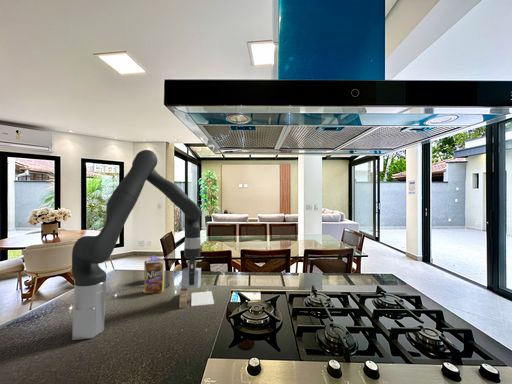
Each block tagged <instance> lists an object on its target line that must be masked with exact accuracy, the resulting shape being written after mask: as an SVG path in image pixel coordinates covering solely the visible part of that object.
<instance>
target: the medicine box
mask: <svg viewBox="0 0 512 384" xmlns="http://www.w3.org/2000/svg"><path fill="white" fill-rule="evenodd" d="M193 273H194V272H190V274H193ZM181 284H182V288H188V289H195V290H196V289H197V290H198V289H199V288H200V287H201V286H202V285H201V284H202V267H196V271H195V276H194V285H189V272H188V267H184V268H183V269H182V270H181Z"/></svg>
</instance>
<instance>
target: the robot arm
mask: <svg viewBox="0 0 512 384" xmlns="http://www.w3.org/2000/svg"><path fill="white" fill-rule="evenodd" d="M157 164H158V157H157V154H156V153H155V152H154V151H152V150H150V149H143V150H140V151H139V152H138V153H137V154H136V155H135V156H134V158H133V160H132V164H131V167H130V169H129V171H128V172H127V174H126V175H125V176H124V177H123V178H122V180H121V181H120V183H118V185H117V186H116V187H115V189H114V191H113V192H112V194H111V195H110V197H108V198H109V199H108V200H107V202H106V210H105V211H106V220H105V223H104V226H103V227H102V228H101V230H100V232H99V234H98V235H85V236H81V237H80V238H78V239H77V240H76V242H74V245H73V248H72V251H71V274H72V278H73V280H74V285H73V286H74V288H73V291H74V292H73V307H72V309H73V311H72V327H71V336H72V337H71V340H72V341H77V340H85V339H93V338H95V337H96V336H98V335H100V334H101V333H102V332H104V330H105V312H106V293H107V292H106V291H107V290H106V288H107V272H106V271H105V270H104V269H103V268H101V267H100V265H99V264H102V263H104V262H106V261H107V260H108V259H109V258H110V257H111V255H112V253H113V251H114V250H115V247H116V245H117V243H118V240H119V237H120V234H121V232H122V230H123V228H124V226H125V224H126V222H127V220H128V218H129V216H130V214H131V212H132V210H133V209H134V208H135V206H136V203H137V202H138V199H139V197H140V195H141V193H142V191H143V189H144V188H143V187H144V186H145V182H146V181H147V182H148V183H150V184H151V185H152V186H154V187H155V188H156V189H158V190H159V191H160V193H162V194H163V195H165V196H166V197H167V198H168V199H169V201H170V202H171V203H173V205H175V206H176V207H177V208H179V209H180V211H181V212H182V213H184V215H185V231H184V232H185V234H184V243H183V245H184V246H183V247H184V249H183V252H184V253H183V257H184V258H185V259H188V260H187V266H188V267H187V268H188V272H189V285H194V276H195V271H196V268H197V267H196V266H197V259H196V258H200V257H201V246H202V245H201V243H202V241H201V224H200V222H201V221H200V219H201V215H202V209H201V207H200V206H199V205H198V204H197V203H195V202H194V201H193V200H192V199H191V198H190V197H189V196H188V195H187V194H186V193H185V192H184V190H183V189H182V188H181V187H179V186H178V185H177V184H175V183H174V182H172V181H170V180H167V179H166V178H165V177H163V176H162V175H161V174H159V173H158V171H157V170H156V169H155V168H156V166H157ZM190 272H194V273H193V274H190ZM99 333H100V334H99Z"/></svg>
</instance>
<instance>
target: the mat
mask: <svg viewBox="0 0 512 384" xmlns="http://www.w3.org/2000/svg"><path fill="white" fill-rule="evenodd" d="M190 297H191V300H190V301H191V302H190V303H191V304H190V305H191V307H192V308H193V307H202V306H204V307H205V306H214V305H215V301H214V297H213V291H200V292H199V291H198V292H191V296H190Z"/></svg>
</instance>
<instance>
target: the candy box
mask: <svg viewBox="0 0 512 384" xmlns="http://www.w3.org/2000/svg"><path fill="white" fill-rule="evenodd" d="M146 261H147V262H146V263H145V282H144V288H143V289H144V290H143V292H144V294H153V293H154V294H155V293H156V294H157V293H159V294H160V293H161V294H162V293H163V292H164V290H165V272H166V271H165V267H166V261H165V260H164V261H148V260H146Z"/></svg>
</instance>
